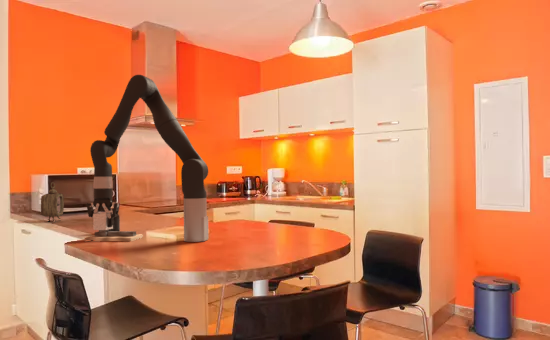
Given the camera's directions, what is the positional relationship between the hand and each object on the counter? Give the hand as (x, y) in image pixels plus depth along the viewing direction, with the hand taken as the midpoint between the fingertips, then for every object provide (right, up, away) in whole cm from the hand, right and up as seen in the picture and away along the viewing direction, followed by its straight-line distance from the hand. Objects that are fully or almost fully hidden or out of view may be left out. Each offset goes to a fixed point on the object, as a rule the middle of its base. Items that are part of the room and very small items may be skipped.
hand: (103, 227), depth 168 cm
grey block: (0, -1, 0) cm, 1 cm away
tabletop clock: (-67, -9, +81) cm, 105 cm away
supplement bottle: (-4, -6, +18) cm, 20 cm away
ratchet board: (+5, -5, -1) cm, 7 cm away
